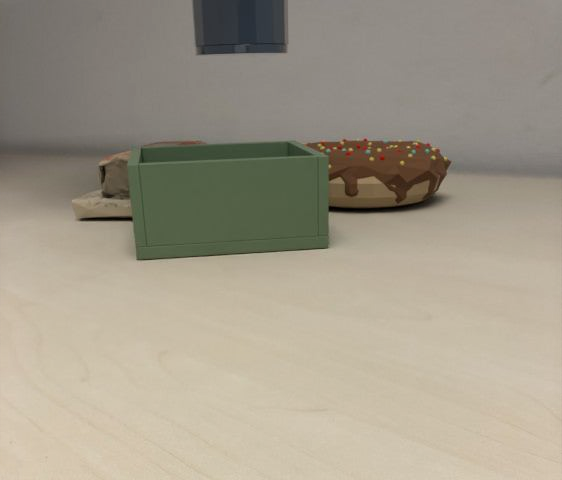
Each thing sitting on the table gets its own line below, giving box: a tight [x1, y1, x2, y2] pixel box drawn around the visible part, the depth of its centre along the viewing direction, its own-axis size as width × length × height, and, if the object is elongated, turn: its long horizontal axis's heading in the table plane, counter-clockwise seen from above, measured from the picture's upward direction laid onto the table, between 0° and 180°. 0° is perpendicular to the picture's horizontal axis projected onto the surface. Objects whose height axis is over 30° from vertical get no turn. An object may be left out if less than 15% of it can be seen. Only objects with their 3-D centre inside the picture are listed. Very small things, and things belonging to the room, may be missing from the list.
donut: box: [302, 137, 452, 209], centre depth 61 cm, size 14×14×5 cm
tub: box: [127, 140, 330, 260], centre depth 49 cm, size 12×11×6 cm
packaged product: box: [71, 140, 208, 219], centre depth 63 cm, size 18×5×10 cm
